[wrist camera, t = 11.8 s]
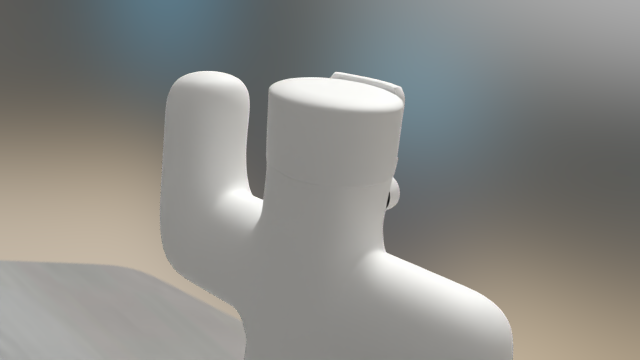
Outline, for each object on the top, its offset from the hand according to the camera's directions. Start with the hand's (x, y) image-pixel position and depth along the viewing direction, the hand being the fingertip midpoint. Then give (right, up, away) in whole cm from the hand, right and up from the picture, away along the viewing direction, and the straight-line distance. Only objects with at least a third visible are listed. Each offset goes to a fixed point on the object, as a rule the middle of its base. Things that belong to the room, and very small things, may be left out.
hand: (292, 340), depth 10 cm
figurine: (-1, -9, +7) cm, 11 cm away
